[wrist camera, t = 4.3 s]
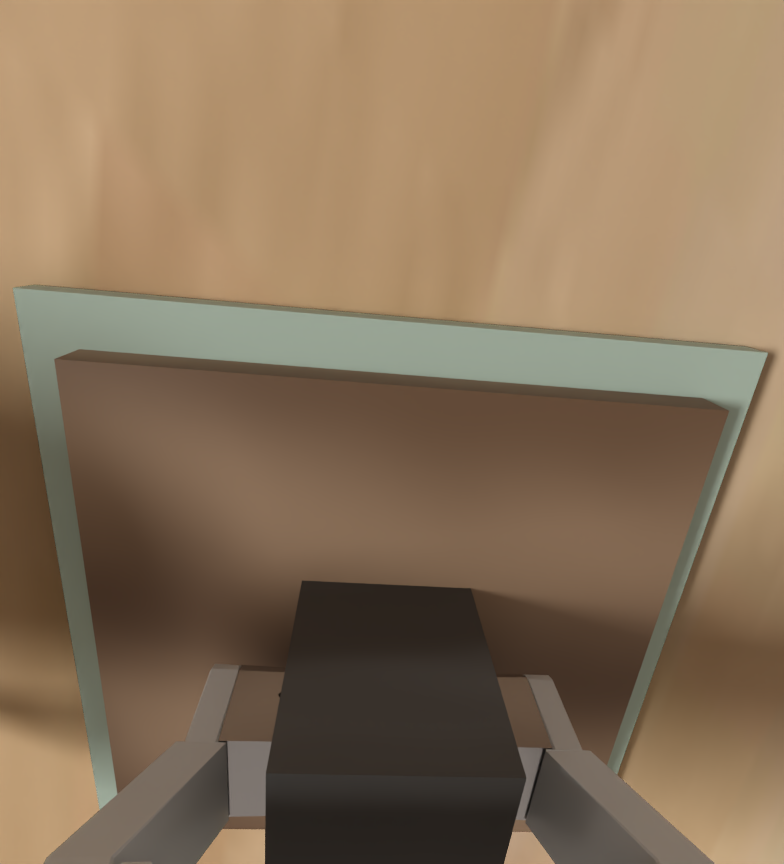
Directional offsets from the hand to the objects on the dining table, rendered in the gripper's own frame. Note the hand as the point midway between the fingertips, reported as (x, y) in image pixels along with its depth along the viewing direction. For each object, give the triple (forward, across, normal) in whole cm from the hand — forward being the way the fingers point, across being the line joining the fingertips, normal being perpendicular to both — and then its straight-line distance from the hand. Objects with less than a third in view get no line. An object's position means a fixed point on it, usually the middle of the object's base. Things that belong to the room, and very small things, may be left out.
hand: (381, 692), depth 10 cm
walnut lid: (+2, 0, 0) cm, 2 cm away
